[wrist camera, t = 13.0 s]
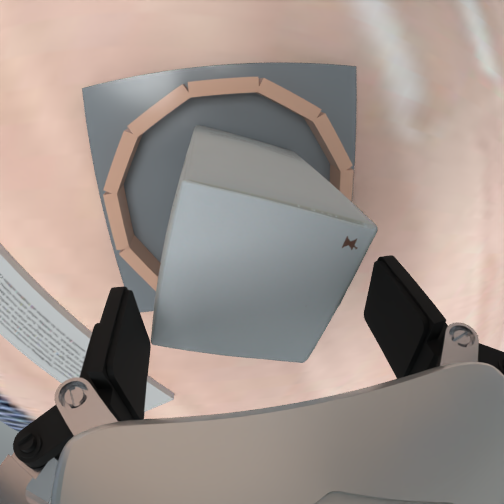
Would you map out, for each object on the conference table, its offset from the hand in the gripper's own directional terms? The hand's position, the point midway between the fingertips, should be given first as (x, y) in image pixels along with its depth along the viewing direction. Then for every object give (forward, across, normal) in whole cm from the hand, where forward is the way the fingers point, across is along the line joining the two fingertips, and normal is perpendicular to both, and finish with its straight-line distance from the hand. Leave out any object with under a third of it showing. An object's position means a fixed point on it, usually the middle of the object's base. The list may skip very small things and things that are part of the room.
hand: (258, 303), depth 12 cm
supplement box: (+13, 0, 0) cm, 13 cm away
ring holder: (+14, 0, +1) cm, 14 cm away
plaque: (+14, +21, +14) cm, 29 cm away
